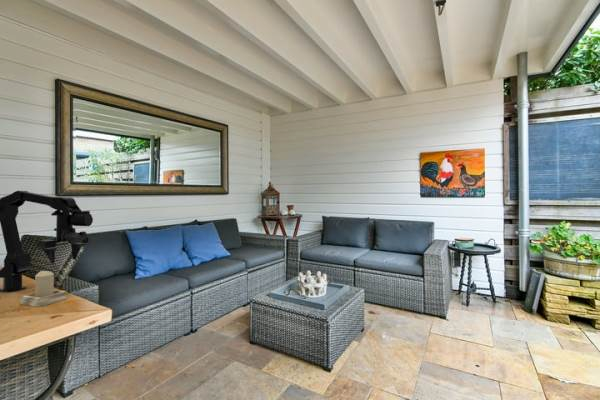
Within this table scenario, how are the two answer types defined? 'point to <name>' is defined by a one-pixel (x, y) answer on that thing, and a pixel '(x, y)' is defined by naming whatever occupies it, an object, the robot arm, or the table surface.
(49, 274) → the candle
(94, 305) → the table surface
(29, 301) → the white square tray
